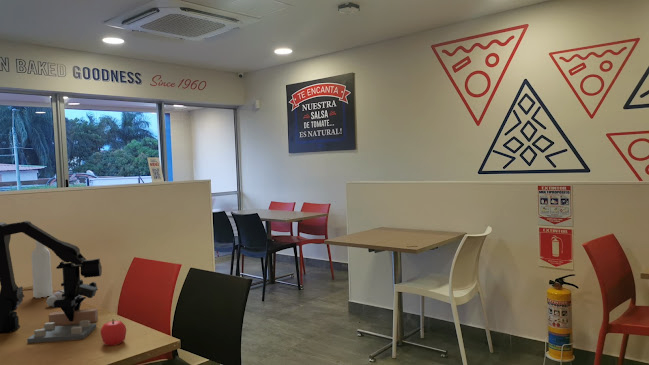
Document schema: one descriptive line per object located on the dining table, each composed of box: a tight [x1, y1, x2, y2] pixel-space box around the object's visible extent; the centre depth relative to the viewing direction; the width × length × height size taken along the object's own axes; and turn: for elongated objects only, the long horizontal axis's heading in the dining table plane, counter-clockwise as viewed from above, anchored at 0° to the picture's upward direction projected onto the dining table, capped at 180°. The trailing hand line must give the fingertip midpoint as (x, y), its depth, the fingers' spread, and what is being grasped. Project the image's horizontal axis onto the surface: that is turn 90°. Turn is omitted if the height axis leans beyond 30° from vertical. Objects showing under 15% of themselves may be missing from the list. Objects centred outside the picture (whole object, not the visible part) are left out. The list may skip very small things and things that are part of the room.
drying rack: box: [26, 320, 97, 344], centre depth 165 cm, size 18×12×4 cm, turn 97°
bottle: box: [31, 240, 54, 299], centre depth 220 cm, size 8×8×30 cm
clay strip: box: [48, 307, 99, 326], centre depth 179 cm, size 16×4×4 cm, turn 103°
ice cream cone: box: [46, 289, 64, 307], centre depth 208 cm, size 6×6×15 cm
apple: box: [100, 318, 127, 346], centre depth 155 cm, size 8×8×8 cm
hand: (73, 319), depth 179 cm, fingers closed on clay strip, 4 cm apart
